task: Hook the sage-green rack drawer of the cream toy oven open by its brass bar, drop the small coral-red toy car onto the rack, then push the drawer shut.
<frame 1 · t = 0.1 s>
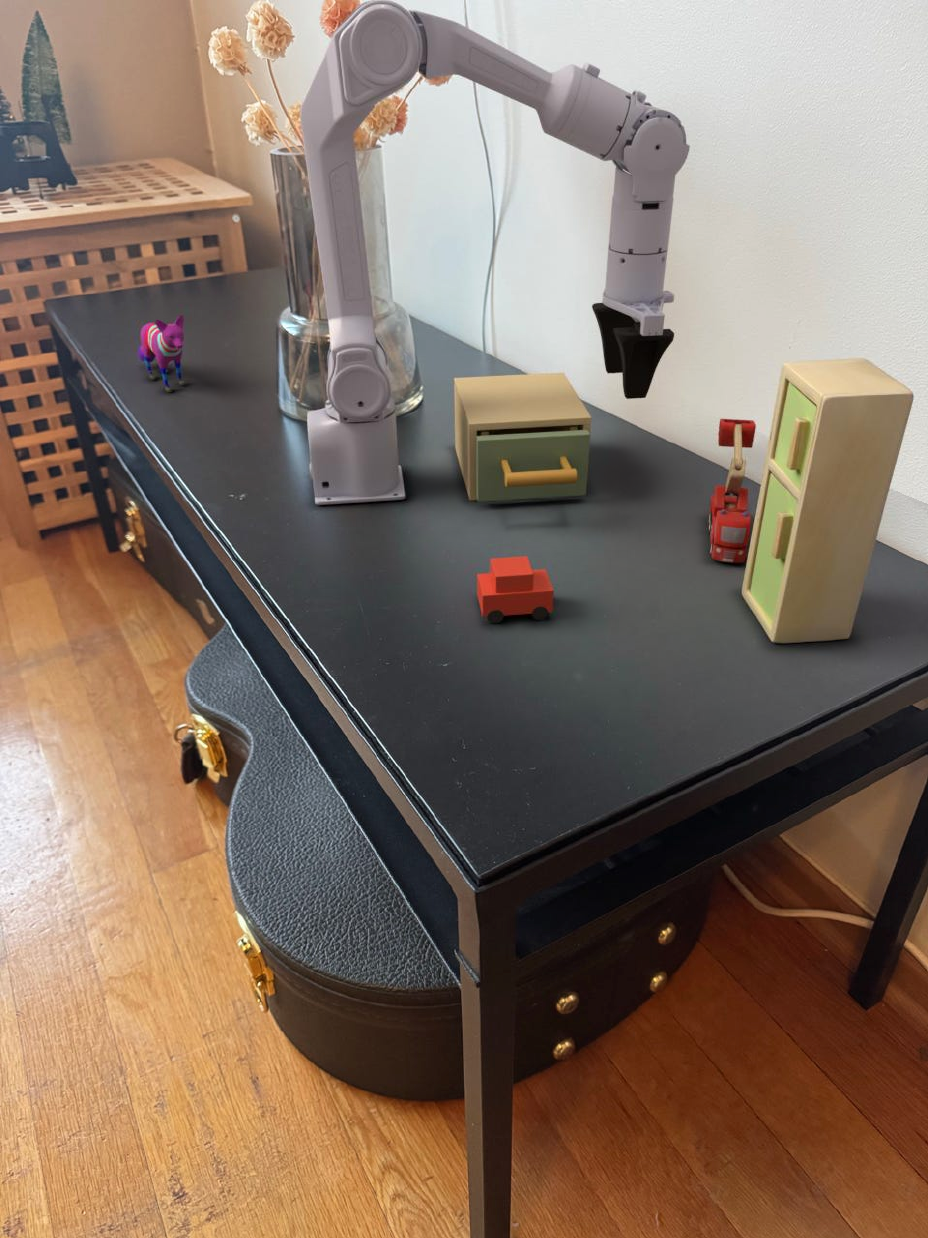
hand: (625, 384, 95), 10 cm above the table, tool pointing down, fingers open, 7 cm apart
toy dog: (166, 382, 127), on the table
oven drawer: (526, 453, 95), point 4 cm above the table, slide at 1.0 cm
toy car: (514, 610, 78), on the table
toy fire truck: (725, 533, 90), on the table
toy oven: (517, 469, 102), on the table
toy refrigerator: (787, 618, 77), on the table
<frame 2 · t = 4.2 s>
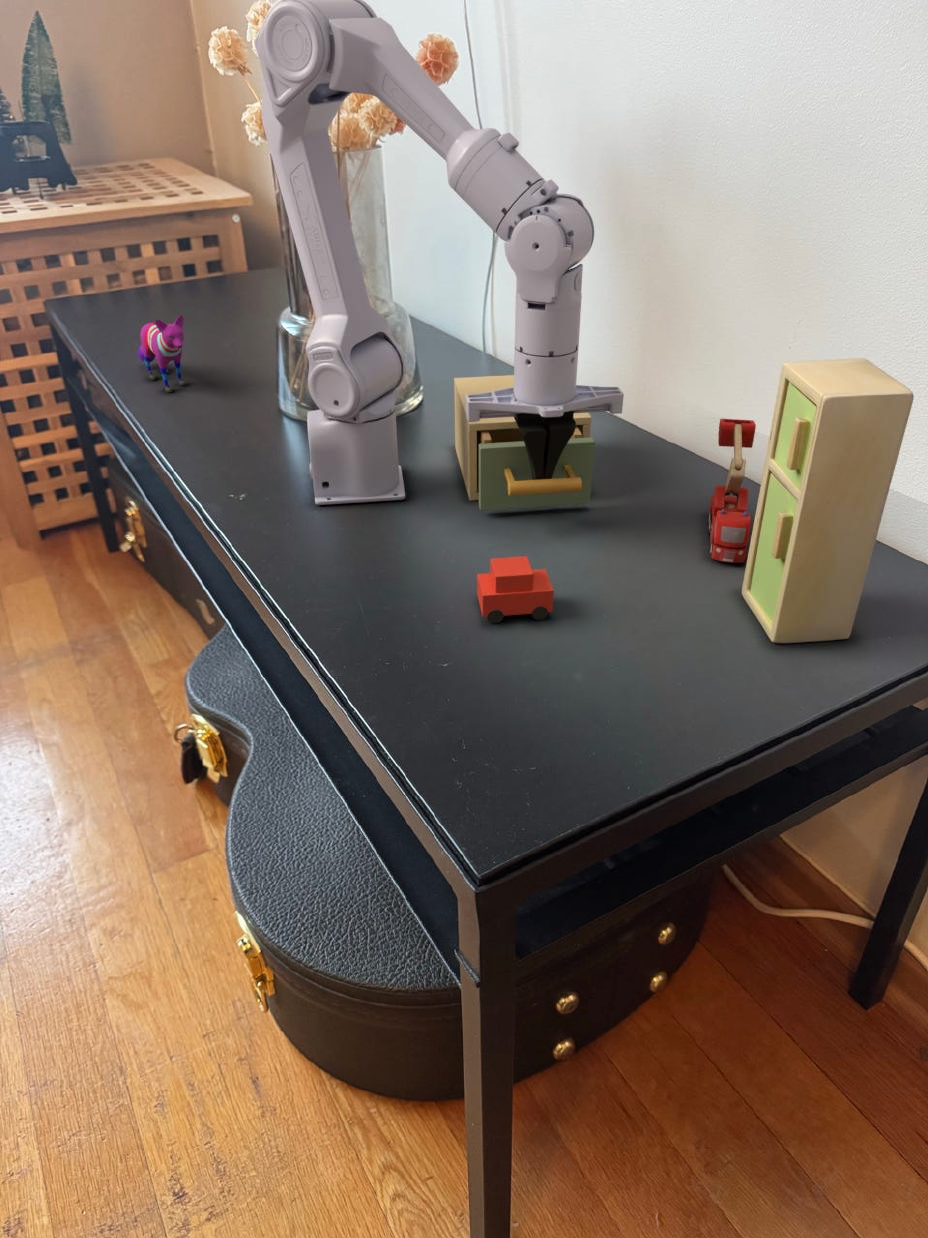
hand: (540, 484, 89), 4 cm above the table, tool pointing down, fingers closed, pressing on oven drawer
oven drawer: (529, 460, 94), point 4 cm above the table, slide at 2.9 cm, touching gripper
everything else where it was.
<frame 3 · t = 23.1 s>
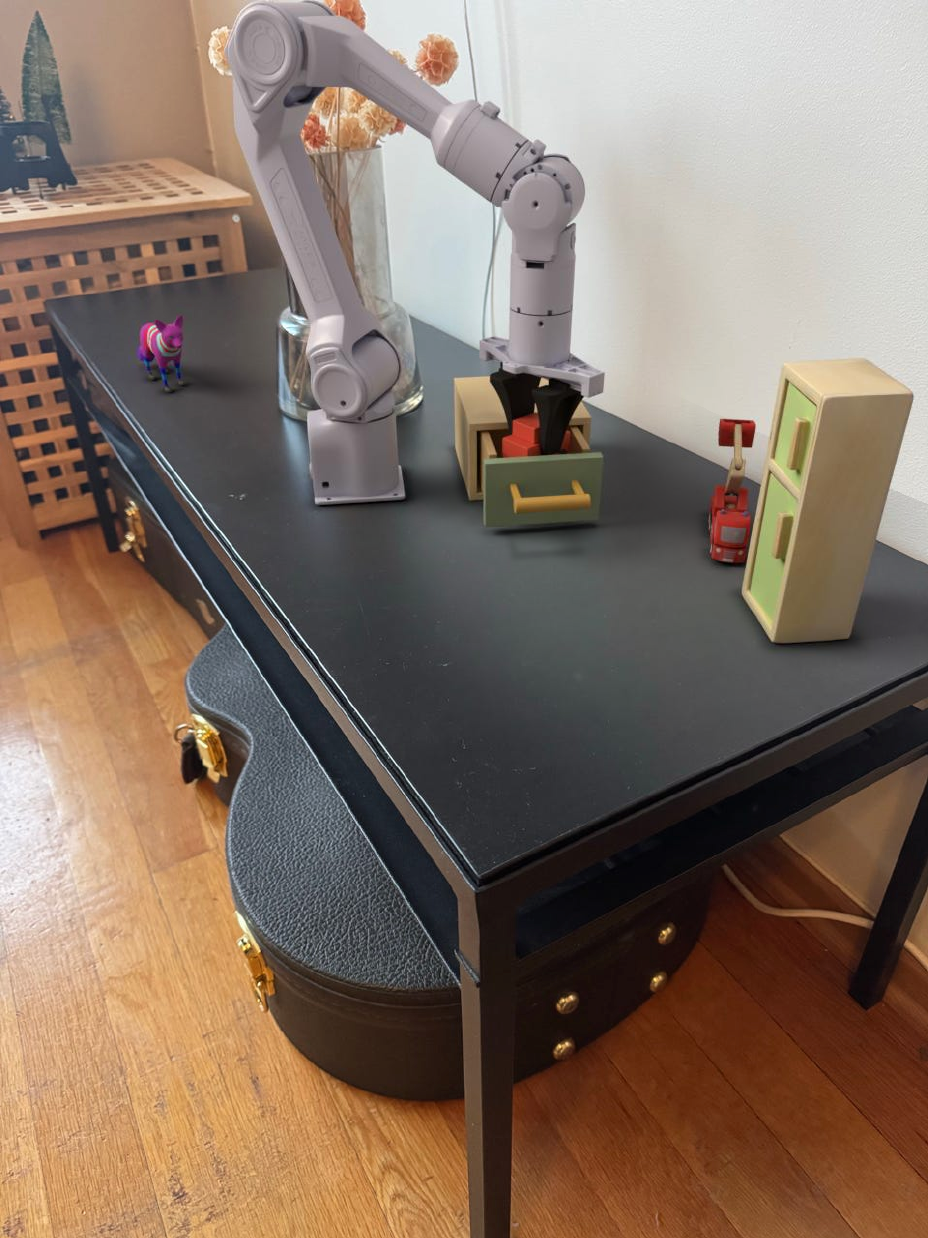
hand: (535, 447, 90), 7 cm above the table, tool pointing down, fingers closed on toy car, 3 cm apart
oven drawer: (536, 475, 91), point 4 cm above the table, slide at 6.5 cm
toy car: (535, 461, 91), point 5 cm above the table, touching gripper
everything else where it was.
when the fingers open (10 cm above the table, at t = 29.4 s): toy car drops 7 cm, resting on oven drawer.
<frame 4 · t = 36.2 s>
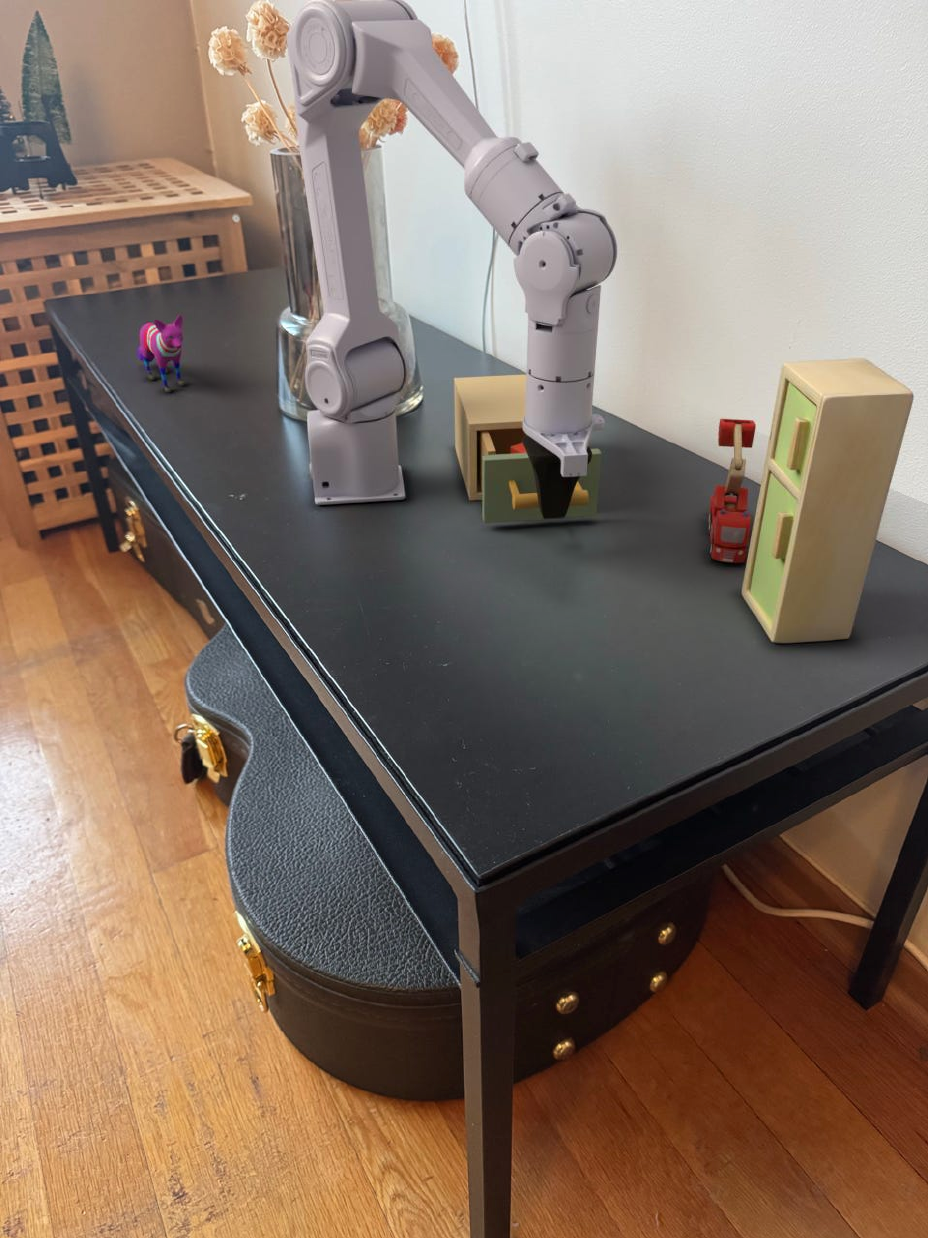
hand: (553, 515, 84), 4 cm above the table, tool pointing down, fingers closed
oven drawer: (534, 472, 91), point 4 cm above the table, slide at 5.7 cm, touching gripper, toy car
toy car: (532, 486, 94), point 2 cm above the table, touching oven drawer
everything else where it was.
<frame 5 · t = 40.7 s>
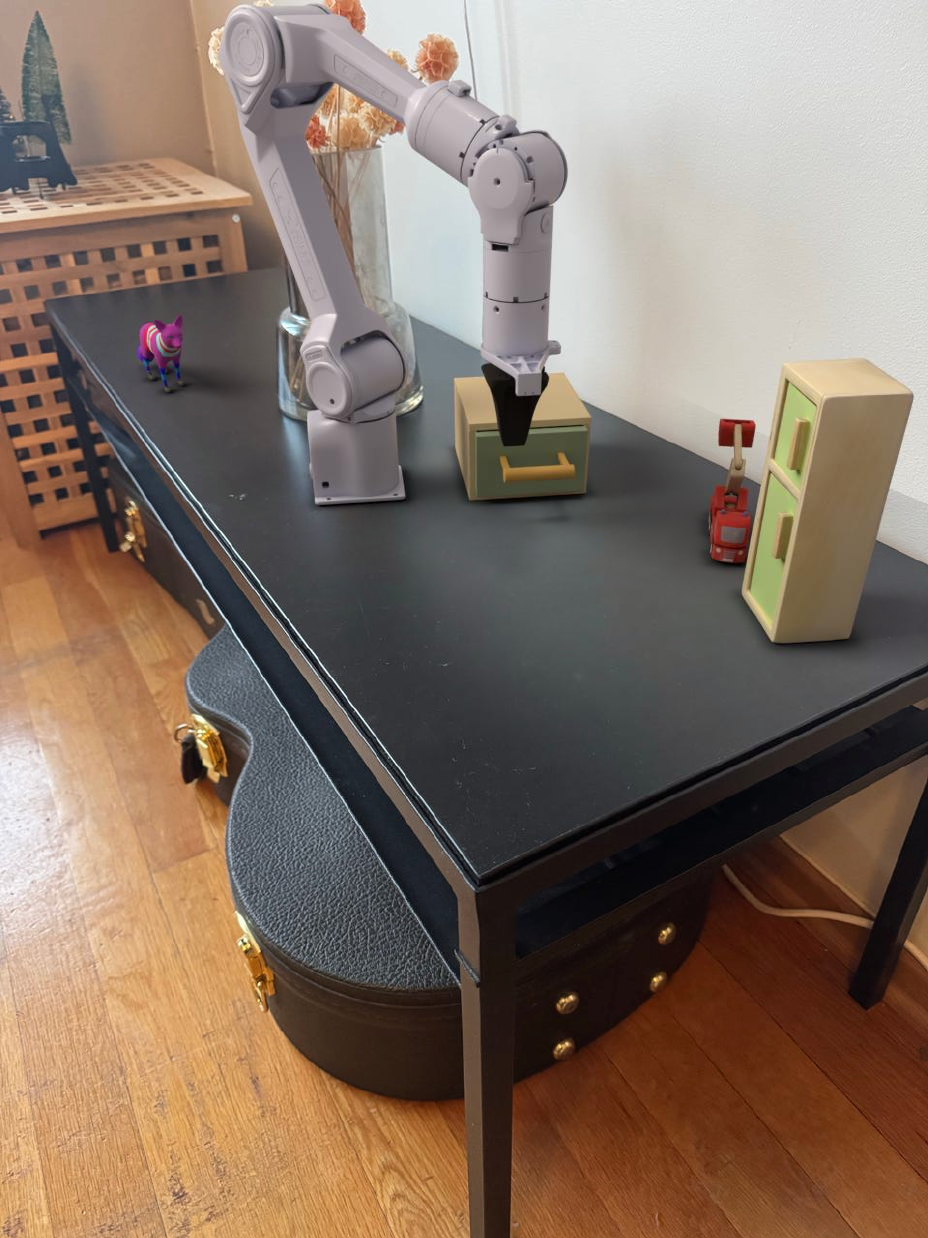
hand: (513, 443, 85), 9 cm above the table, tool pointing down, fingers closed
oven drawer: (524, 449, 96), point 4 cm above the table, slide at 0.0 cm, touching toy car, toy oven
toy car: (523, 463, 99), point 2 cm above the table, touching oven drawer
everything else where it was.
at the end: toy car inside the target area in the toy oven (2.5 cm from its centre), point 2.0 cm above the toy oven's base; oven drawer slide at 0.0 cm; the gripper is holding nothing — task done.
